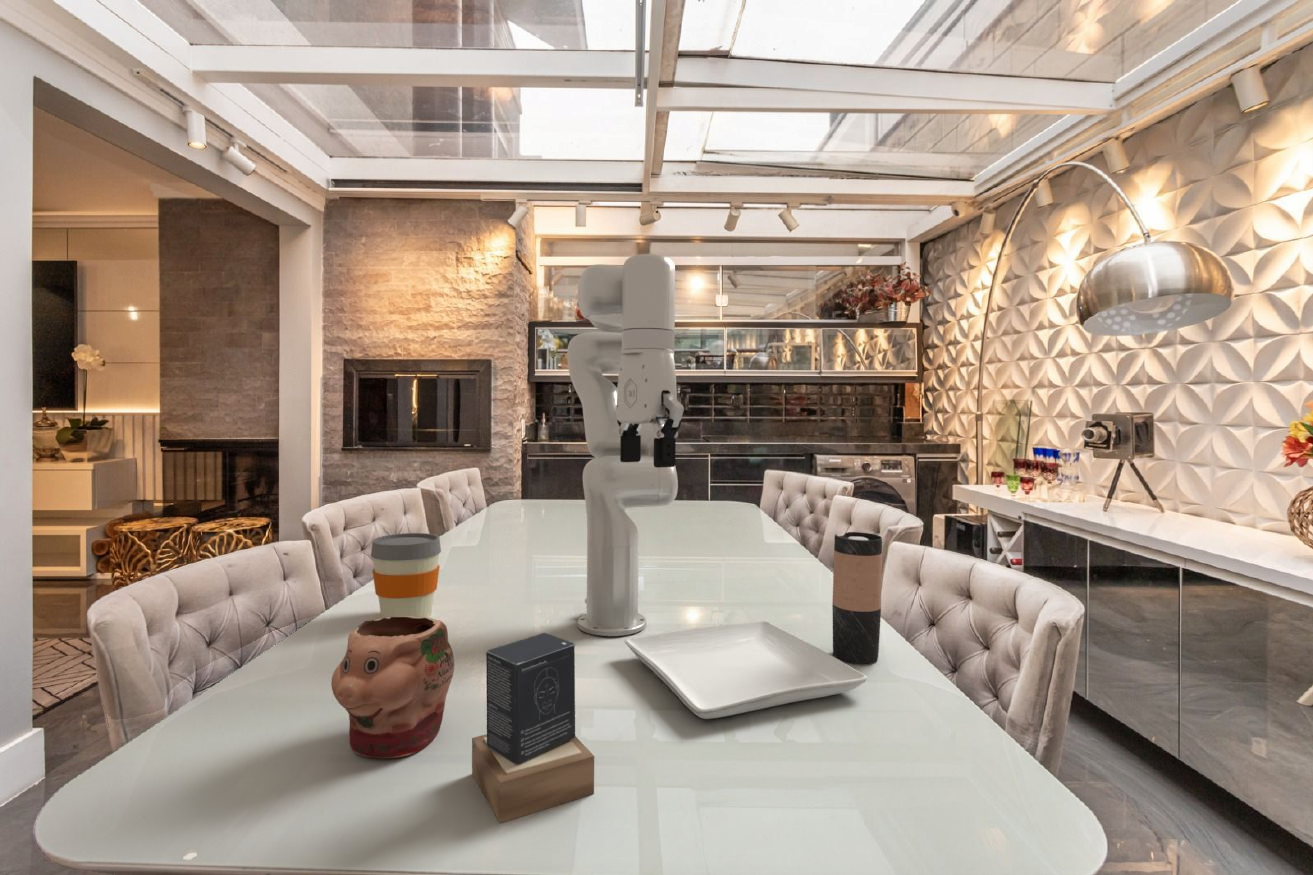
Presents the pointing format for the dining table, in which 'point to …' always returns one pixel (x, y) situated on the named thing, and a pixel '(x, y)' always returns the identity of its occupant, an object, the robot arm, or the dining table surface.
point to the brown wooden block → (532, 778)
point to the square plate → (742, 667)
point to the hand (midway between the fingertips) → (646, 464)
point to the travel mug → (857, 597)
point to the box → (530, 696)
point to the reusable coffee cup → (406, 573)
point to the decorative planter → (394, 684)
